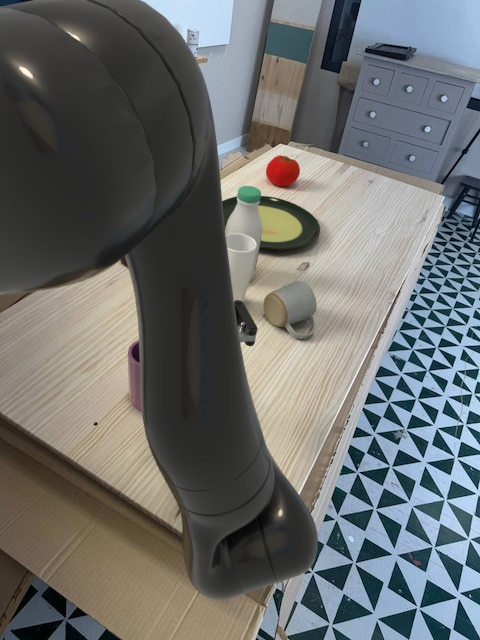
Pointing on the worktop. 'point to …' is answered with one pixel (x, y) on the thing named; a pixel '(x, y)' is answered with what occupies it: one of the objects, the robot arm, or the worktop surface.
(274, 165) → the tomato
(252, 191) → the milk bottle
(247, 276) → the drinking glass
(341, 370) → the worktop surface
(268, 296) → the ceramic mug
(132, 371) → the pair cup
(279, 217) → the plate
